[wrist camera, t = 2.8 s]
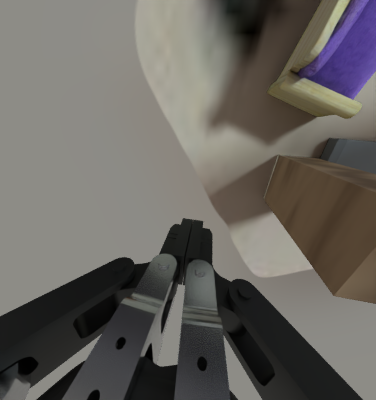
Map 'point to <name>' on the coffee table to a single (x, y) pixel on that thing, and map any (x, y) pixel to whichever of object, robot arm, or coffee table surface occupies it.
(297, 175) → the walnut block
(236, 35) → the coffee table surface
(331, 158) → the mat
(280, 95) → the toy sofa
